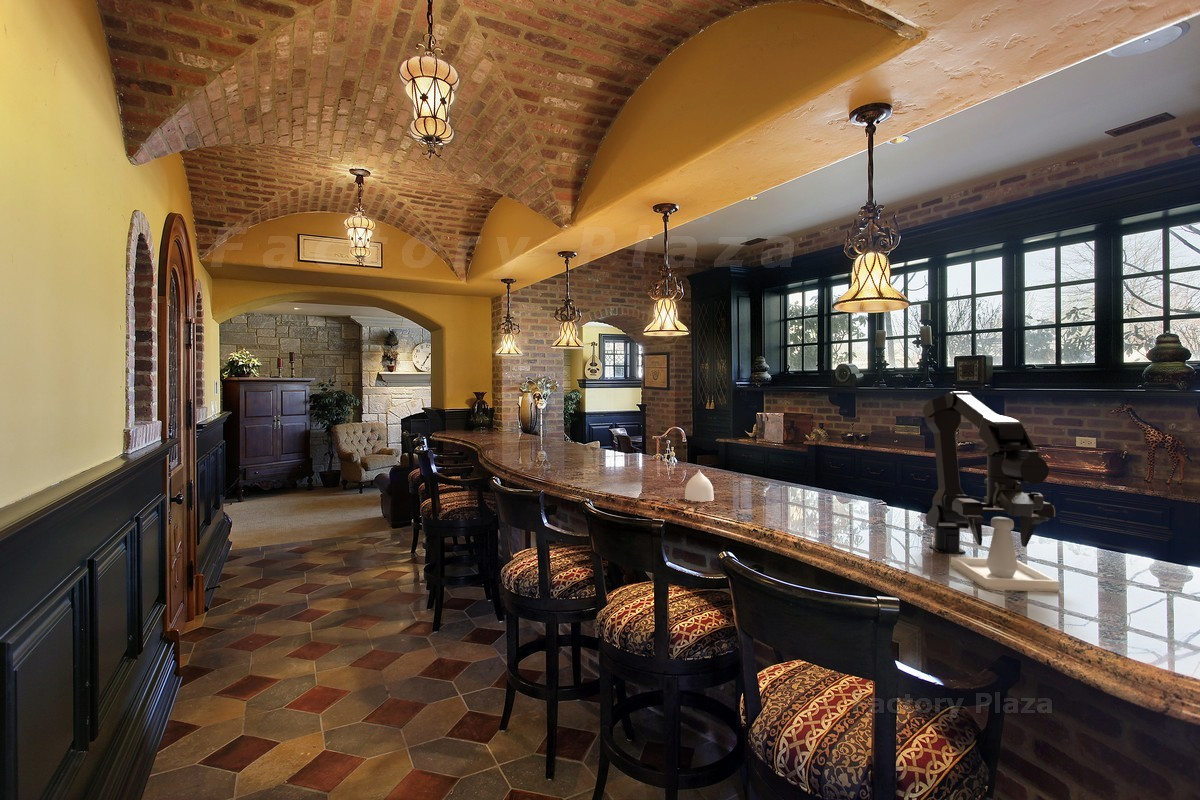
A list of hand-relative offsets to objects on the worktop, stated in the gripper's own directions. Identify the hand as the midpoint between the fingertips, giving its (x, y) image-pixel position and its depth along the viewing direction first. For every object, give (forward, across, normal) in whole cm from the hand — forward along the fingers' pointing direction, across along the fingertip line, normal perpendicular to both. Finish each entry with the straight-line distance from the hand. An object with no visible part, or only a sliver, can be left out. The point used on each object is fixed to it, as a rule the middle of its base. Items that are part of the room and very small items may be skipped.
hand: (1001, 545), depth 130 cm
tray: (+7, 0, 0) cm, 7 cm away
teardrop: (+8, -64, +83) cm, 105 cm away
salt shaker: (+7, 0, 0) cm, 7 cm away
